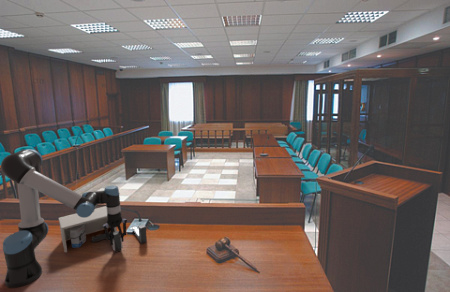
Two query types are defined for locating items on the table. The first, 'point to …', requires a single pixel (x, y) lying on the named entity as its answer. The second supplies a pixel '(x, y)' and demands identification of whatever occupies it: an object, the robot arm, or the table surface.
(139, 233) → the plain bar
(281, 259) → the table surface
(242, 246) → the table surface
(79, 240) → the ink box
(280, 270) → the table surface
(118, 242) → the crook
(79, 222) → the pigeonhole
